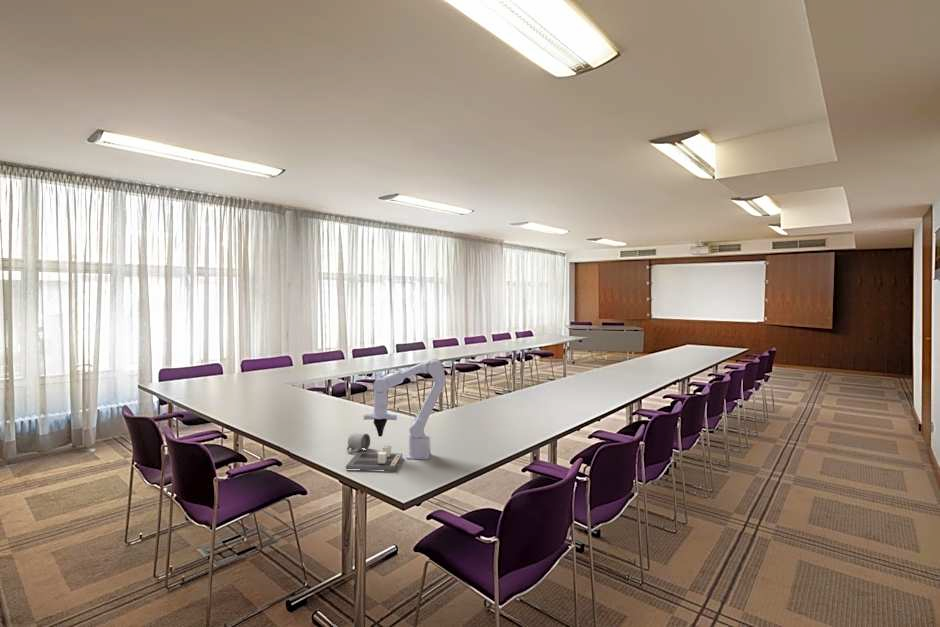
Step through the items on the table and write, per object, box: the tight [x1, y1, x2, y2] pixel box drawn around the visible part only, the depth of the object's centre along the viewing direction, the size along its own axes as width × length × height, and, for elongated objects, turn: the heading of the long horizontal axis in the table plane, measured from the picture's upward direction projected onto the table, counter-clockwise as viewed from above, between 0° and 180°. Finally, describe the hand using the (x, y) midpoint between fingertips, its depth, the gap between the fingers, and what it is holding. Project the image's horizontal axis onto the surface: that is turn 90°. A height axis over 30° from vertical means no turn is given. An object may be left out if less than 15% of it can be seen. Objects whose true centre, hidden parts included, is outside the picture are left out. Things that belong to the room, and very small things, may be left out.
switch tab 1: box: [377, 451, 387, 463], centre depth 192 cm, size 3×3×4 cm
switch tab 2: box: [382, 445, 392, 457], centre depth 200 cm, size 3×3×4 cm
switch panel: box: [345, 452, 403, 472], centre depth 196 cm, size 20×16×2 cm
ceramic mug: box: [346, 432, 371, 454], centre depth 214 cm, size 11×8×8 cm
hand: (380, 435), depth 205 cm, fingers closed
